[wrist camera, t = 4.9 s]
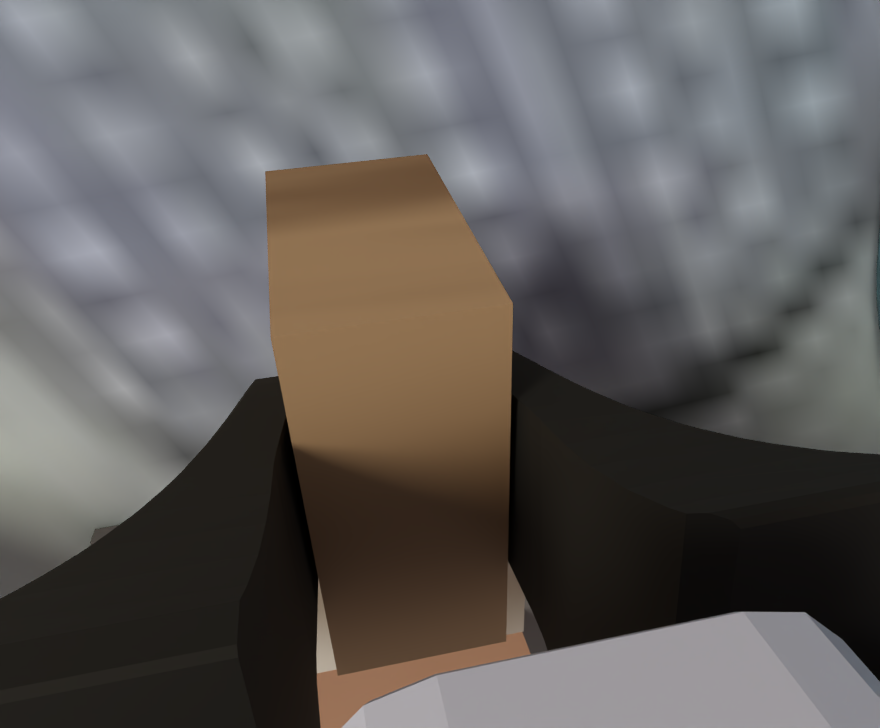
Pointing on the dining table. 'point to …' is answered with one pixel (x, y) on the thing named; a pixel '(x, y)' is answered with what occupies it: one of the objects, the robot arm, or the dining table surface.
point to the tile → (400, 678)
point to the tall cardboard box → (394, 409)
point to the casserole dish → (878, 280)
